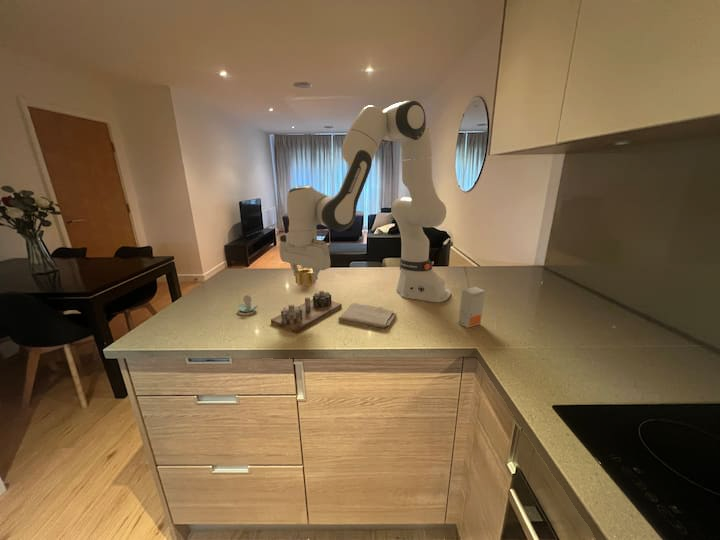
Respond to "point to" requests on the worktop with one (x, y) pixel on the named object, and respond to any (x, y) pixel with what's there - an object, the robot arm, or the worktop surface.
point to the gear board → (306, 312)
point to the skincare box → (471, 307)
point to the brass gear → (304, 276)
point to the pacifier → (246, 306)
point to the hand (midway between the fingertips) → (305, 277)
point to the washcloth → (368, 316)
